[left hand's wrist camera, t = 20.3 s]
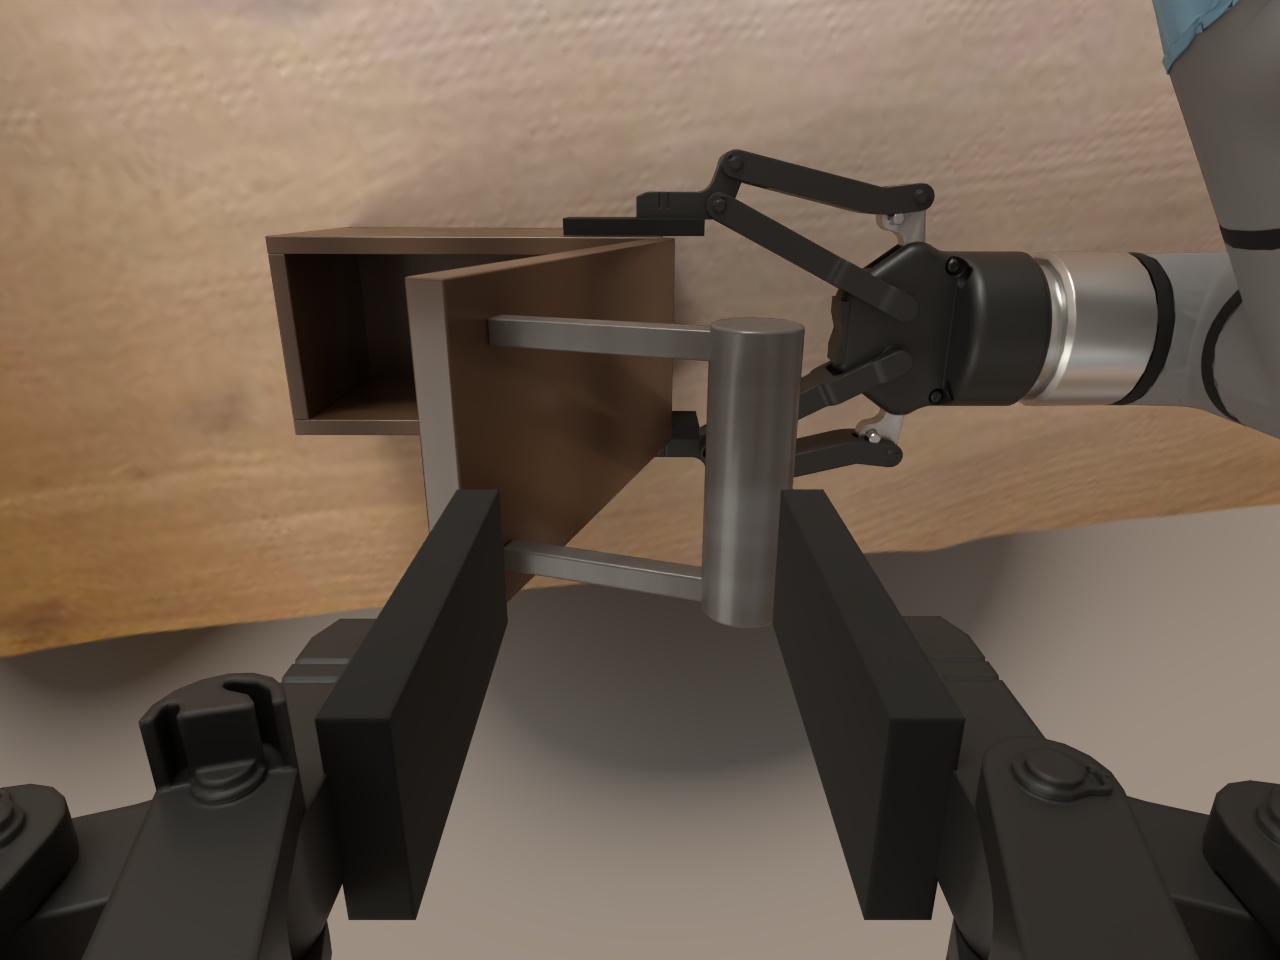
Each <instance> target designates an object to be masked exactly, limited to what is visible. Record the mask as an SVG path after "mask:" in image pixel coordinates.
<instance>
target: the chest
mask: <svg viewBox="0 0 1280 960" xmlns="http://www.w3.org/2000/svg"><path fill="white" fill-rule="evenodd" d="M265 238H266V244H267V251H268V254H269V255H268V256H269V263H270V269H271V276H272V283H273V289H274V296H275V302H276V309H277V315H278V322H279V328H280V335H281V341H282V348H283V354H284V361H285V367H286V374H287V380H288V387H289V393H290V400H291V407H292V413H293V419H294V427H295V433H296V435H420V432H419V422H418V412H417V401H416V391H415V381H414V370H413V360H412V350H411V339H410V329H409V319H408V308H407V298H406V288H405V278H406V277H408V276H414V275H420V274H427V273H433V272H440V271H446V270H452V269H459V268H465V267H472V266H478V265H484V264H491V263H497V262H503V261H510V260H516V259H523V258H529V257H535V256H542V255H548V254H554V253H561V252H567V251H574V250H580V249H586V248H593V247H599V246H606V245H612V244H618V243H625V242H631V241H637V240H644V239H650V238H663V237H662V236H661V235H563V228H393V227H345V228H335V229H326V230H317V231H308V232H298V233H289V234H280V235H271V236H266V237H265Z"/></svg>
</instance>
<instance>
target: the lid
mask: <svg viewBox="0 0 1280 960" xmlns="http://www.w3.org/2000/svg"><path fill="white" fill-rule="evenodd" d="M674 261H675V239H674V238H650V239H644V240H637V241H631V242H625V243H618V244H612V245H606V246H599V247H593V248H586V249H580V250H574V251H567V252H561V253H554V254H548V255H542V256H535V257H529V258H523V259H516V260H510V261H503V262H497V263H491V264H484V265H478V266H472V267H465V268H459V269H452V270H446V271H440V272H433V273H427V274H420V275H414V276H408V277H406V278H405V288H406V298H407V308H408V319H409V329H410V339H411V350H412V360H413V370H414V381H415V391H416V401H417V412H418V422H419V432H420V443H421V453H422V463H423V474H424V484H425V494H426V505H427V515H428V525H429V534H430V532H431V530H432V529H433V527H434V526H435V524H436V522H437V521H438V519H439V518H440V516H441V514H442V513H443V511H444V510H445V508H446V506H447V505H448V503H449V502H450V500H451V498H452V497H453V495H454V493H455V492H456V490H499V497H500V513H501V528H502V543H503V558H504V573H505V588H506V603H507V602H508V601H509V600H510V599H511V598H512V597H513V596H514V595H515V594H516V593H517V592H518V591H519V590H520V589H521V588H522V587H523V586H524V585H525V584H526V583H528V582H529V581H530V580H531V579H532V578H533V577H534V576H535V575H540V576H546V577H552V578H558V579H564V580H570V581H576V582H583V583H589V584H595V585H601V586H607V587H613V588H620V589H626V590H632V591H638V592H645V593H650V594H657V595H663V596H669V597H675V598H681V599H687V600H694V601H700V602H701V608H702V610H703V612H704V613H705V614H706V616H708V617H709V618H710V619H712V620H714V621H716V622H718V623H720V624H723V625H727V626H731V627H737V628H757V627H762V626H766V625H769V624H772V618H773V603H774V588H775V573H776V558H777V543H778V528H779V513H780V497H781V490H793V477H794V464H795V451H796V437H797V424H798V411H799V397H800V384H801V371H802V357H803V344H804V331H805V329H804V326H803V325H802V324H800V323H797V322H794V321H789V320H783V319H773V318H729V319H722V320H718V321H715V322H713V323H711V325H710V326H701V325H683V324H673V316H674ZM673 359H687V360H701V361H709V369H708V399H707V428H706V457H705V487H704V516H703V546H702V567H698V566H691V565H685V564H678V563H671V562H664V561H658V560H651V559H644V558H638V557H631V556H624V555H617V554H611V553H604V552H597V551H590V550H584V549H577V548H570V547H564V546H565V545H566V544H567V543H568V542H569V541H570V540H571V539H572V538H573V537H574V536H575V535H576V534H577V533H578V532H579V531H580V530H581V529H582V528H583V527H584V526H585V525H586V524H587V523H588V522H589V521H590V520H591V519H592V518H593V517H594V516H595V515H596V514H597V513H598V512H599V511H600V510H601V509H602V508H603V507H604V506H605V505H606V504H607V503H608V502H609V501H610V500H611V499H612V498H613V497H614V496H615V495H617V494H618V493H619V492H620V491H621V490H622V489H623V488H624V487H625V486H626V485H627V484H628V483H629V482H630V481H631V480H632V479H633V478H634V477H635V476H636V475H637V474H638V473H639V472H640V471H641V470H642V469H643V468H644V467H645V466H646V465H647V464H648V463H649V462H650V461H651V460H652V459H653V458H654V457H655V456H656V455H657V454H658V453H659V452H660V451H661V450H662V449H663V448H664V447H665V446H666V445H667V444H668V443H669V442H670V441H671V427H672V372H673Z"/></svg>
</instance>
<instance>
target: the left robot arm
mask: <svg viewBox="0 0 1280 960" xmlns="http://www.w3.org/2000/svg"><path fill="white" fill-rule="evenodd" d="M507 623H508V618H507V603H506V588H505V573H504V558H503V543H502V528H501V513H500V497H499V490H456V492H455V493H454V495H453V497H452V498H451V500H450V502H449V503H448V505H447V506H446V508H445V510H444V511H443V513H442V514H441V516H440V518H439V519H438V521H437V522H436V524H435V526H434V527H433V529H432V530H431V532H430V534H429V535H428V537H427V539H426V540H425V542H424V543H423V545H422V547H421V548H420V550H419V551H418V553H417V555H416V556H415V558H414V559H413V561H412V563H411V564H410V566H409V568H408V569H407V571H406V572H405V574H404V576H403V577H402V579H401V580H400V582H399V584H398V585H397V587H396V588H395V590H394V592H393V593H392V595H391V596H390V598H389V600H388V601H387V603H386V605H385V606H384V608H383V609H382V611H381V613H380V614H379V616H378V617H377V619H339V620H338V621H336V622H335V623H333V624H332V625H330V626H329V627H327V628H326V629H324V630H323V631H321V632H320V633H318V634H317V635H315V636H314V637H312V638H311V640H310V641H309V642H308V644H307V645H306V646H305V648H304V649H303V650H302V652H301V653H300V655H299V656H298V657H297V659H296V663H295V664H292V665H291V667H290V668H289V669H288V671H287V672H286V673H285V675H284V676H283V678H282V683H279V682H277V681H276V680H275V679H274V678H273V677H269V676H264V675H260V674H256V673H234V674H225V675H221V676H216V677H212V678H207V679H203V680H199V681H197V682H195V683H192V684H190V685H187V686H185V687H182V688H180V689H178V690H175V691H173V692H172V693H170V694H169V695H167V696H166V697H164V698H163V699H161V700H160V701H158V702H157V703H155V704H154V705H152V706H151V708H150V709H149V710H148V711H147V712H146V713H145V715H144V716H143V717H142V718H141V719H140V720H139V726H140V730H141V734H142V737H143V741H144V745H145V749H146V753H147V756H148V760H149V764H150V768H151V772H152V776H153V779H154V783H155V787H156V793H155V795H154V797H153V799H152V800H149V801H146V802H142V803H139V804H135V805H131V806H126V807H122V808H118V809H113V810H108V811H104V812H99V813H94V814H90V815H85V816H81V817H76V818H71V815H70V812H69V809H68V806H67V803H66V800H65V797H64V796H63V795H62V794H60V793H59V792H58V791H57V790H56V789H55V788H53V787H49V786H42V785H36V784H26V785H18V786H11V787H3V788H0V960H331V956H332V950H331V942H330V934H329V929H328V924H327V918H328V916H329V914H330V911H331V909H332V907H333V904H334V902H335V900H336V897H337V895H338V893H339V890H340V888H341V886H342V883H343V889H344V895H345V901H346V906H347V912H348V918H349V920H416V917H417V914H418V911H419V907H420V904H421V901H422V898H423V894H424V891H425V888H426V885H427V882H428V878H429V875H430V872H431V869H432V865H433V862H434V859H435V856H436V852H437V849H438V846H439V843H440V839H441V836H442V833H443V830H444V827H445V823H446V820H447V817H448V814H449V810H450V807H451V804H452V801H453V798H454V794H455V791H456V788H457V784H458V781H459V778H460V775H461V771H462V768H463V765H464V762H465V759H466V756H467V752H468V749H469V746H470V742H471V739H472V736H473V733H474V730H475V726H476V723H477V720H478V717H479V713H480V710H481V707H482V704H483V701H484V697H485V694H486V691H487V688H488V684H489V681H490V678H491V675H492V671H493V668H494V665H495V662H496V659H497V655H498V652H499V649H500V646H501V642H502V639H503V636H504V633H505V629H506V626H507ZM772 623H773V626H774V629H775V633H776V636H777V639H778V642H779V645H780V649H781V652H782V655H783V658H784V662H785V665H786V668H787V671H788V675H789V678H790V681H791V684H792V687H793V691H794V694H795V697H796V701H797V704H798V707H799V710H800V713H801V717H802V720H803V723H804V726H805V730H806V733H807V736H808V739H809V743H810V746H811V749H812V752H813V756H814V759H815V762H816V765H817V768H818V772H819V775H820V778H821V781H822V785H823V788H824V791H825V794H826V797H827V801H828V804H829V807H830V810H831V814H832V817H833V820H834V823H835V827H836V830H837V833H838V836H839V839H840V843H841V846H842V849H843V852H844V856H845V859H846V862H847V865H848V869H849V872H850V875H851V878H852V881H853V885H854V888H855V891H856V894H857V898H858V901H859V904H860V907H861V911H862V914H863V917H864V920H931V918H932V912H933V907H934V901H935V895H936V889H937V883H938V882H939V884H940V886H941V889H942V891H943V893H944V896H945V898H946V900H947V902H948V905H949V907H950V909H951V912H952V914H953V916H954V918H953V924H952V929H951V934H950V940H949V945H948V951H947V956H946V960H1280V784H1274V783H1267V782H1259V781H1251V780H1249V781H1242V782H1235V783H1229V784H1227V785H1226V786H1225V787H1224V788H1222V789H1221V790H1220V791H1219V792H1218V793H1217V794H1216V797H1215V800H1214V803H1213V806H1212V809H1211V812H1210V815H1206V814H1202V813H1197V812H1192V811H1188V810H1183V809H1179V808H1174V807H1169V806H1165V805H1160V804H1155V803H1151V802H1147V801H1143V800H1139V799H1136V798H1132V797H1129V796H1126V793H1125V791H1124V789H1123V788H1122V786H1121V785H1120V784H1119V782H1118V781H1117V780H1116V778H1115V777H1114V775H1113V774H1112V773H1111V771H1109V770H1108V769H1107V768H1105V767H1104V766H1103V765H1101V764H1100V763H1099V762H1097V761H1096V760H1095V759H1093V758H1092V757H1091V756H1089V755H1087V754H1085V753H1083V752H1081V751H1079V750H1077V749H1075V748H1072V747H1070V746H1068V745H1066V744H1063V743H1059V742H1056V741H1052V740H1048V739H1046V738H1045V737H1044V736H1043V734H1042V733H1041V732H1040V730H1039V729H1038V728H1037V726H1036V725H1035V724H1034V722H1033V721H1032V720H1031V718H1030V717H1029V716H1028V714H1027V713H1026V712H1025V710H1024V709H1023V708H1022V706H1021V705H1020V704H1019V702H1018V701H1017V700H1016V698H1015V697H1014V695H1013V694H1012V693H1011V691H1010V690H1009V689H1008V688H1007V686H1006V685H1005V683H1004V682H1003V681H1002V680H999V678H998V674H997V673H996V671H995V670H994V669H993V667H992V666H991V665H990V663H989V662H986V661H985V657H984V655H983V654H982V653H981V651H980V650H979V649H978V647H977V646H976V645H975V643H974V642H973V641H972V639H971V638H970V637H969V635H968V634H966V633H965V632H963V631H961V630H960V629H958V628H957V627H955V626H954V625H952V624H951V623H949V622H948V621H946V620H945V619H943V618H942V617H940V616H901V614H900V613H899V611H898V609H897V608H896V606H895V605H894V603H893V601H892V600H891V598H890V596H889V595H888V593H887V592H886V590H885V589H884V587H883V585H882V584H881V582H880V580H879V579H878V577H877V576H876V574H875V572H874V571H873V569H872V568H871V566H870V564H869V563H868V561H867V560H866V558H865V556H864V555H863V553H862V551H861V550H860V548H859V547H858V545H857V543H856V542H855V540H854V539H853V537H852V535H851V534H850V532H849V530H848V529H847V527H846V526H845V524H844V522H843V521H842V519H841V518H840V516H839V514H838V513H837V511H836V510H835V508H834V506H833V505H832V503H831V502H830V500H829V498H828V497H827V495H826V493H825V492H824V490H781V497H780V513H779V528H778V543H777V558H776V573H775V588H774V603H773V618H772Z"/></svg>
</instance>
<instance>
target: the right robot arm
mask: <svg viewBox="0 0 1280 960" xmlns="http://www.w3.org/2000/svg"><path fill="white" fill-rule="evenodd" d="M1152 2H1153V6H1154V10H1155V14H1156V19H1157V24H1158V28H1159V33H1160V38H1161V43H1162V48H1163V52H1164V58H1163V61H1162V63H1163V65H1164V67H1165V69H1166V72H1167V73H1166V74H1168V75H1170V78H1171V81H1172V84H1173V87H1174V90H1175V93H1176V96H1177V99H1178V102H1179V105H1180V108H1181V111H1182V114H1183V117H1184V120H1185V123H1186V126H1187V129H1188V132H1189V135H1190V138H1191V141H1192V144H1193V147H1194V150H1195V153H1196V156H1197V159H1198V162H1199V165H1200V168H1201V171H1202V174H1203V177H1204V180H1205V183H1206V186H1207V189H1208V192H1209V195H1210V198H1211V201H1212V204H1213V207H1214V210H1215V213H1216V216H1217V219H1218V222H1219V227H1220V230H1221V233H1222V236H1223V239H1224V242H1225V246H1226V249H1227V252H1196V253H1153V254H1141V253H1128V252H1039V253H1037V254H1035V255H1033V256H1030V255H1028V254H1027V253H1024V252H946V251H940V250H938V249H936V248H934V247H932V246H931V245H929V244H927V243H925V210H926V209H928V208H929V207H930V206H931V205H932V203H933V201H934V196H935V195H934V190H933V189H932V187H931V186H929V185H928V184H923V183H919V184H901V185H893V186H885V187H879V186H875V185H872V184H868V183H864V182H860V181H856V180H853V179H849V178H845V177H841V176H837V175H834V174H830V173H826V172H822V171H818V170H815V169H811V168H807V167H803V166H799V165H795V164H792V163H788V162H784V161H780V160H776V159H773V158H769V157H765V156H761V155H757V154H754V153H750V152H746V151H742V150H731V151H729V152H727V153H725V154H723V155H722V156H721V157H720V159H719V161H718V165H717V168H716V170H715V173H714V176H713V179H712V181H711V183H710V185H709V186H708V187H707V188H706V189H704V190H702V191H700V192H646V193H644V194H641V195H639V196H637V217H566V218H563V235H661V236H704V225H705V219H713V220H715V221H717V222H719V223H721V224H722V225H724V226H726V227H728V228H730V229H732V230H733V231H735V232H737V233H739V234H741V235H742V236H744V237H746V238H748V239H750V240H752V241H753V242H755V243H757V244H759V245H761V246H762V247H764V248H766V249H768V250H770V251H772V252H773V253H775V254H777V255H779V256H781V257H782V258H784V259H786V260H788V261H790V262H792V263H793V264H795V265H797V266H799V267H801V268H802V269H804V270H806V271H808V272H810V273H812V274H813V275H815V276H817V277H819V278H820V279H822V280H824V281H826V282H828V283H829V284H831V285H833V286H835V287H837V288H838V291H837V293H836V296H832V307H831V313H832V319H833V324H834V328H833V331H832V334H831V337H830V340H829V343H828V355H827V357H828V358H829V359H830V361H829V362H827V363H825V364H823V365H821V366H819V367H817V368H815V369H813V370H812V371H811V372H810V373H809V374H808V375H806V376H804V377H802V378H801V384H800V397H799V411H798V420H799V419H801V418H803V417H805V416H807V415H809V414H812V413H814V412H816V411H818V410H820V409H822V408H824V407H826V406H832V405H837V404H840V403H842V402H844V401H846V400H848V399H851V398H853V397H855V396H857V395H859V394H861V393H862V394H863V395H864V396H866V397H867V398H868V399H870V400H871V401H872V402H874V403H875V404H876V405H878V406H879V407H880V411H879V412H878V414H877V415H876V416H875V417H873V418H870V419H864V420H861V421H860V422H859V423H858V424H857V425H856V428H855V429H839V430H833V431H828V432H824V433H820V434H815V435H811V436H806V437H802V438H797V439H796V451H795V464H794V477H798V476H802V475H807V474H811V473H816V472H820V471H825V470H829V469H834V468H839V467H843V466H848V465H852V464H865V465H874V466H883V467H894V466H896V465H898V464H899V463H900V462H901V460H902V457H903V453H902V450H901V449H900V448H899V447H898V446H897V443H898V439H899V434H900V430H901V426H902V422H903V418H904V415H906V414H909V413H911V412H913V411H915V410H917V409H919V408H922V407H925V406H1008V405H1012V404H1014V403H1016V402H1017V401H1018V402H1020V403H1022V404H1024V405H1026V406H1078V405H1157V406H1184V407H1192V408H1197V409H1202V410H1204V411H1207V412H1210V413H1212V414H1215V415H1217V416H1220V417H1223V418H1225V419H1228V420H1230V421H1233V422H1236V423H1238V424H1241V425H1244V426H1248V427H1250V428H1253V429H1255V430H1258V431H1261V432H1263V433H1266V434H1268V435H1271V436H1273V437H1276V438H1278V439H1280V0H1152ZM741 183H745V184H749V185H753V186H756V187H760V188H764V189H768V190H772V191H776V192H780V193H783V194H787V195H791V196H795V197H799V198H803V199H807V200H810V201H814V202H818V203H822V204H826V205H830V206H834V207H837V208H841V209H845V210H849V211H853V212H858V213H866V214H876V222H877V225H878V226H879V227H880V228H881V229H883V230H887V231H891V232H893V233H894V234H895V235H896V236H897V238H898V242H899V244H897V245H896V246H894V247H893V248H892V249H890V250H889V251H887V252H886V253H884V254H883V255H882V256H880V257H879V258H877V259H876V260H874V261H873V262H871V263H870V264H869V265H867V266H866V267H864V268H863V269H861V268H859V267H858V266H856V265H854V264H852V263H850V262H848V261H846V260H844V259H842V258H840V257H839V256H837V255H835V254H833V253H831V252H830V251H828V250H826V249H824V248H822V247H821V246H819V245H817V244H815V243H813V242H812V241H810V240H808V239H806V238H804V237H803V236H801V235H799V234H797V233H795V232H794V231H792V230H790V229H788V228H787V227H785V226H783V225H781V224H779V223H778V222H776V221H774V220H772V219H770V218H769V217H767V216H765V215H763V214H761V213H760V212H758V211H756V210H754V209H752V208H751V207H749V206H747V205H745V204H743V203H742V202H740V201H738V200H736V199H735V197H736V195H737V192H738V190H739V187H740V184H741ZM706 428H707V424H706V425H704V426H702V427H699V423H698V419H697V415H696V411H672V427H671V441H670V442H669V443H668V444H667V445H666V446H665V447H664V448H663V449H662V450H661V451H660V452H659V453H658V454H657V455H656V456H655V457H695V458H698V459H700V460H701V461H702V462H703V463H704V465H705V457H706Z"/></svg>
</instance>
